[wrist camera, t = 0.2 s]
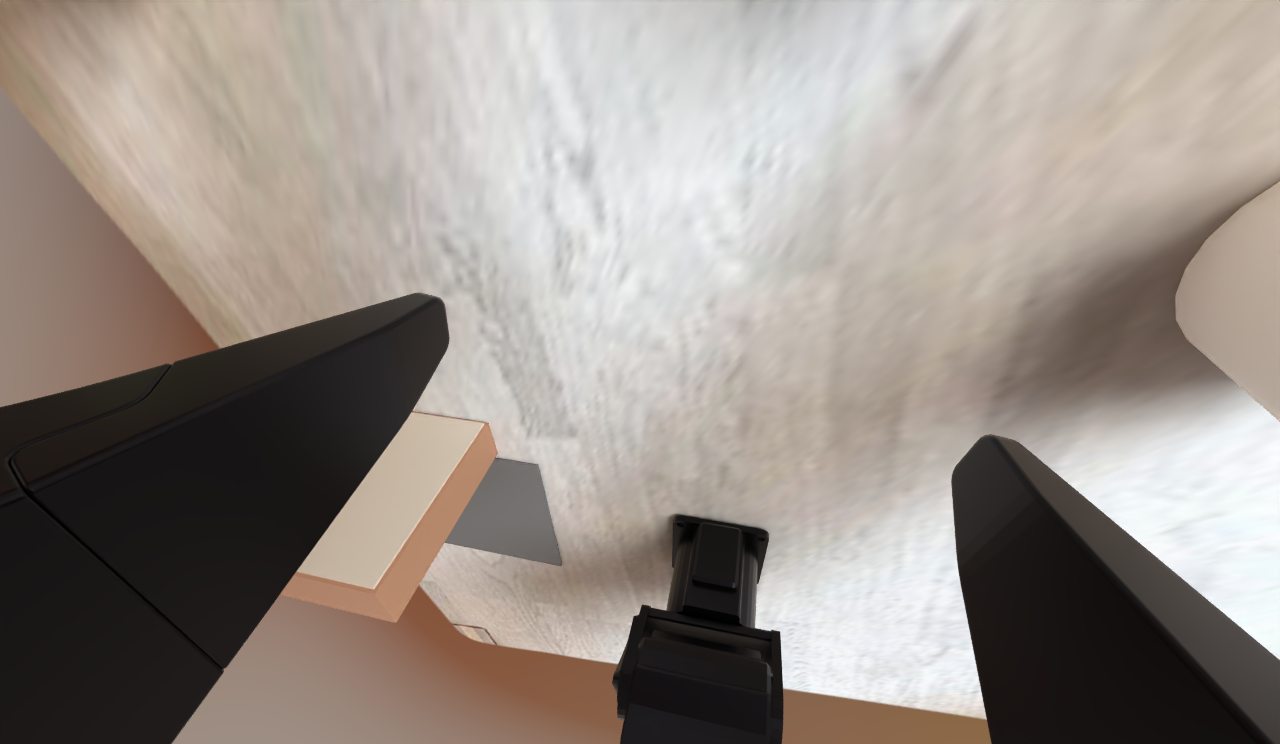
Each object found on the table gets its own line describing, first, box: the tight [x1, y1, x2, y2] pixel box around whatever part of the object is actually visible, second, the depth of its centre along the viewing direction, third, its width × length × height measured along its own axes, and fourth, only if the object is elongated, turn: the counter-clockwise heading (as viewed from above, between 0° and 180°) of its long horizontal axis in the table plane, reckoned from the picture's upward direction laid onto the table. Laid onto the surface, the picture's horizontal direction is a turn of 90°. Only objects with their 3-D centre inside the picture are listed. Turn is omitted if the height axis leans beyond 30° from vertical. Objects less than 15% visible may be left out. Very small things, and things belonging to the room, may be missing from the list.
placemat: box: [444, 458, 562, 566], centre depth 40 cm, size 13×14×1 cm
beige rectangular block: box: [280, 412, 498, 623], centre depth 30 cm, size 3×8×12 cm, turn 91°
